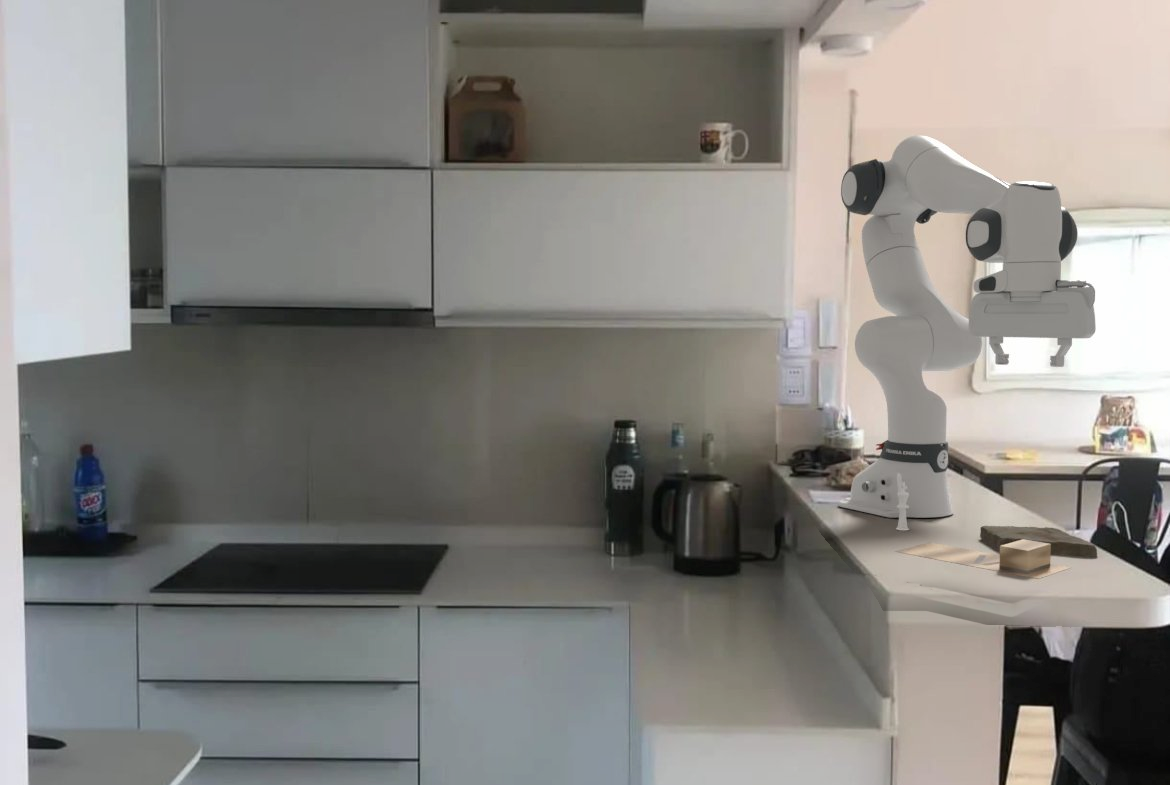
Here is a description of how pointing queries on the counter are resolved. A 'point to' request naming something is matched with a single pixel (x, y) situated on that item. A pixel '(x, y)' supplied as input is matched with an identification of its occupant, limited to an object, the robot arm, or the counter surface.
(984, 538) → the marble piece
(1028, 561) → the block
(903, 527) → the chess piece
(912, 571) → the counter surface
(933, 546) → the board
